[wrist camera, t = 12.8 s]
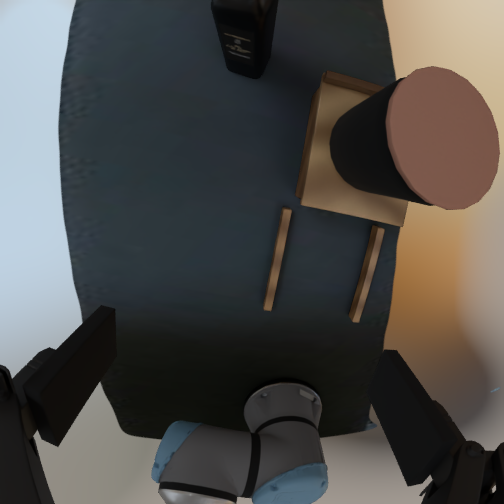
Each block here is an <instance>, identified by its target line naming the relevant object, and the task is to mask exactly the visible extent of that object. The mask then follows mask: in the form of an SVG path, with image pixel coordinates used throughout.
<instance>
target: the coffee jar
mask: <svg viewBox="0 0 504 504" xmlns="http://www.w3.org/2000/svg"><path fill="white" fill-rule="evenodd" d="M498 139H499V138H498V131H497V128H496V125H495V122H494V119H493V115H492V113H491V111H490V109H489V107H488V105H487V104H486V102H485V100H484V99H483V97H482V96H481V94H480V93H479V92H478V91H477V90H476V88H475V87H474V86H473V85H472V84H471V83H470V82H469V81H468V80H467V79H465V78H463V77H462V76H460V75H458V74H457V73H455V72H453V71H452V70H448V69H444V68H439V67H434V66H431V67H426V68H421V69H417V70H415V71H413V72H412V73H411V74H410V75H408V76H407V77H404V78H400V79H399V80H397V81H395V82H393V83H392V84H390V85H388V86H387V87H385V88H383V89H382V90H380V91H378V92H377V93H375V94H374V95H372V96H370V97H369V98H367V99H365V100H364V101H362V102H361V103H359V104H357V105H356V106H354V107H353V108H351V109H350V110H348V111H347V112H346V113H344V114H343V115H342V116H341V117H339V119H338V120H337V122H336V123H335V125H334V127H333V128H332V132H331V137H330V141H329V146H330V156H331V159H332V161H333V164H334V166H335V169H336V171H337V172H338V173H339V174H340V176H341V177H342V178H343V180H344V181H345V182H347V183H348V184H350V185H351V186H352V187H354V188H355V189H358V190H361V191H364V192H368V193H372V194H378V195H383V196H387V197H392V198H397V199H402V200H406V201H411V202H416V203H420V204H424V205H428V206H433V205H436V206H439V207H441V208H444V209H446V210H455V209H465V208H467V207H469V206H471V205H473V204H475V203H477V202H479V200H481V198H482V197H483V196H484V195H485V194H486V193H487V192H488V190H489V189H490V187H491V185H492V182H493V180H494V178H495V176H496V173H497V169H498V162H499V155H500V150H499V140H498Z"/></svg>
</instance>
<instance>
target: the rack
mask: <svg viewBox="0 0 504 504" xmlns="http://www.w3.org/2000/svg"><path fill="white" fill-rule="evenodd" d="M383 88H384V87H381V86H379V85H376V84H373V83H369V82H366V81H363V80H360V79H357V78H353V77H350V76H346V75H343V74H339V73H335V72H332V71H328V70H327V71H326V73H323V75H322V79H321V85H320V87H319V88H318V90H317V91H316V92H315V94H314V95H313V96H312V102H311V108H310V114H309V120H308V126H307V132H306V138H305V143H304V149H303V155H302V160H301V166H300V171H299V177H298V182H297V188H296V193H295V196H297V197H299V198H300V199H301V201H300V204H301V205H303V206H308V207H314V208H319V209H324V210H328V211H333V212H338V213H343V214H347V215H352V216H357V217H361V218H366V219H370V220H375V221H379V222H383V223H388V224H392V225H396V226H400V227H403V224H404V219H405V215H406V210H407V206H408V201H406V200H402V199H397V198H392V197H387V196H383V195H378V194H372V193H368V192H364V191H361V190H358V189H355V188H354V187H352V186H351V185H350V184H348V183H347V182H345V181H344V180H343V178H342V177H341V176H340V174H339V173H338V172H337V171H336V169H335V166H334V164H333V161H332V159H331V156H330V146H329V141H330V137H331V132H332V128H333V127H334V125H335V123H336V122H337V120H338V119H339V117H341V116H342V115H343V114H344V113H346V112H347V111H348V110H350V109H351V108H353V107H354V106H356V105H357V104H359V103H361V102H362V101H364V100H365V99H367V98H369V97H370V96H372V95H374V94H375V93H377V92H378V91H380V90H382V89H383ZM291 212H292V210H291V209H290V208H286V207H282V211H281V216H280V221H279V226H278V232H277V237H276V242H275V247H274V252H273V257H272V263H271V268H270V273H269V278H268V283H267V288H266V293H265V298H264V303H263V306H264V310H267V311H271V309H272V305H273V300H274V296H275V291H276V286H277V281H278V277H279V272H280V267H281V262H282V257H283V252H284V247H285V242H286V237H287V232H288V227H289V222H290V217H291ZM384 230H385V229H383V228H381V227H379V226H375V225H373V226H372V230H371V234H370V239H369V243H368V247H367V251H366V255H365V259H364V263H363V267H362V270H361V274H360V278H359V281H358V285H357V289H356V292H355V296H354V299H353V302H352V306H351V309H350V312H349V317H350V319H351V320H352V322H359V320H360V317H361V314H362V311H363V307H364V304H365V301H366V298H367V294H368V291H369V287H370V284H371V280H372V277H373V273H374V270H375V266H376V262H377V258H378V255H379V251H380V247H381V243H382V239H383V234H384Z"/></svg>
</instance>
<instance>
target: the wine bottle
mask: <svg viewBox="0 0 504 504" xmlns="http://www.w3.org/2000/svg"><path fill="white" fill-rule="evenodd" d="M277 7H278V0H212V2H211V10H212V14H213V18H214V21H215V25H216V29H217V32H218V36H219V40H220V43H221V47H222V51H223V54H224V58H225V62H226V66H227V68H228V70H230V71H231V72H234V73H238V74H241V75H244V76H247V77H250V78H253V79H257V78H260V77H261V75H262V74H263V72H264V69H265V67H266V65H267V63H268V61H269V58H270V55H271V48H272V41H273V34H274V27H275V20H276V13H277Z"/></svg>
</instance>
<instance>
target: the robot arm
mask: <svg viewBox="0 0 504 504" xmlns="http://www.w3.org/2000/svg"><path fill="white" fill-rule="evenodd" d="M116 357H117V349H116V322H115V309H114V308H110V307H106V306H102V305H101V306H100V307H99V308H98V309H97V310H96V311H95V312H94V313H93V314H92V315H91V316H90V317H89V318H88V319H87V320H86V321H84V322H83V323H82V325H80V326H79V327H78V328H77V329H76V330H75V331H74V332H73V333H72V334H71V335H70V336H69V337H68V339H66V340H65V341H64V342H63V343H62V344H61V345H60V346H59V347H58V348H57V349H56V350H55V349H52V348H50V347H49V348H47V349H44V350H42V351H40V352H39V353H38V354H37V355H36V356H35V357H34V358H33V359H32V360H30V361H29V363H27V366H25V367H24V368H22V369H21V370H20V371H19V373H17V374H16V375H15V377H14V378H13V379H12V378H11V374H10V371H9V370H8V369H7V368H6V367H5V366H3V365H0V504H55V503H54V501H53V498H52V495H51V492H50V490H49V487H48V484H47V481H46V478H45V474H44V471H43V468H42V464H41V461H40V457H39V454H38V450H37V446H36V442H35V439H34V437H33V435H34V434H35V433H36V431H37V430H38V432H39V434H40V436H41V439H42V440H44V441H46V442H49V443H51V444H53V445H55V446H57V447H58V446H59V445H60V443H61V441H62V440H63V438H64V437H65V435H66V433H67V432H68V430H69V429H70V427H71V425H72V424H73V422H74V421H75V419H76V417H77V416H78V414H79V413H80V411H81V410H82V408H83V406H84V405H85V403H86V402H87V400H88V399H89V397H90V396H91V394H92V393H93V391H94V389H95V388H96V386H97V385H98V383H99V382H100V380H101V379H102V377H103V376H104V374H105V373H106V372H107V370H108V369H109V367H110V366H111V364H112V363H113V361H114V360H115V358H116ZM366 393H367V395H368V397H369V399H370V402H371V404H372V406H373V408H374V410H375V412H376V415H377V417H378V419H379V421H380V424H381V426H382V428H383V430H384V432H385V435H386V437H387V439H388V441H389V444H390V445H391V448H392V451H393V453H394V455H395V457H396V460H397V462H398V465H399V467H400V469H401V472H402V474H403V476H404V479H405V481H406V483H407V486H413V485H417V484H422V483H423V482H424V481H425V480H426V479H427V478H428V476H429V475H431V477H432V479H433V480H432V481H431V483H430V484H429V485H428V486H427V487H426V488H425V489H424V490H423V491H422V492H421V494H420V495H419V496H422V495H423V494H424V493H425V492H426V493H425V496H424V498H423V501H422V503H421V504H504V442H503V443H501V444H500V445H499V446H498V447H497V449H496V450H495V451H485V450H484V448H483V447H482V446H481V445H480V444H479V443H477V442H475V441H466V439H465V438H464V436H463V435H462V433H461V432H460V431H459V429H458V428H457V426H456V425H455V423H454V422H452V419H451V417H450V416H448V413H447V411H446V410H445V409H444V407H443V406H442V405H440V404H439V403H438V402H437V401H434V400H433V401H432V399H431V398H430V396H429V395H428V393H427V392H426V391H425V389H424V388H423V386H422V385H421V384H420V382H419V381H418V379H417V378H416V377H415V375H414V373H413V372H412V371H411V369H410V368H409V367H408V365H407V364H406V362H405V361H404V360H403V358H402V357H401V355H400V354H399V353H398V351H397V350H384V351H383V354H382V356H381V359H380V361H379V363H378V366H377V368H376V370H375V373H374V375H373V377H372V380H371V382H370V384H369V386H368V388H367V391H366ZM321 410H322V405H321V400H320V397H319V394H318V392H317V391H316V390H315V389H314V388H313V387H312V386H311V385H309V384H308V383H306V382H303V381H300V380H296V379H276V380H272V381H268V382H266V383H263V384H261V385H259V386H258V387H256V388H255V389H254V390H252V391H251V392H250V394H249V395H248V396H247V398H246V400H245V404H244V417H245V420H246V422H247V424H248V426H249V429H250V431H251V432H245V431H238V430H231V429H226V428H220V427H215V426H210V425H205V424H203V423H193V422H187V421H176V422H174V423H173V424H171V425H170V427H169V428H168V429H167V431H166V433H165V434H164V436H163V439H162V441H161V443H160V445H159V448H158V451H157V454H156V457H155V462H154V465H153V468H152V479H153V480H154V481H156V483H160V485H159V491H158V493H159V494H160V495H161V497H162V498H163V500H164V501H165V503H166V504H236V502H237V497H245V498H252V502H253V504H311V503H313V502H315V501H316V500H318V499H319V498H320V497H321V496H322V495H323V494H324V493H325V492H326V490H327V487H328V476H327V465H326V464H325V460H324V456H323V451H322V447H321V442H320V438H319V434H318V424H319V419H320V415H321ZM495 485H496V491H495V492H494V493H492V488H493V487H494V486H495Z"/></svg>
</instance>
